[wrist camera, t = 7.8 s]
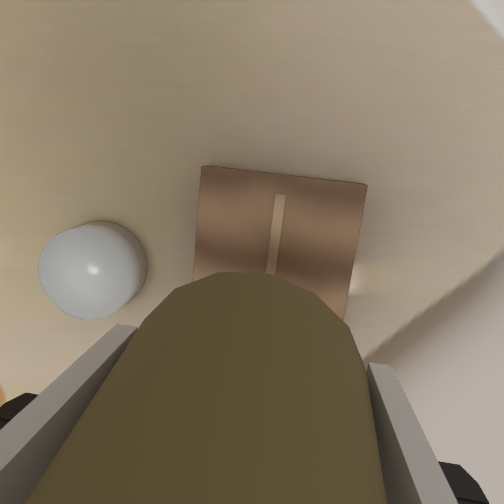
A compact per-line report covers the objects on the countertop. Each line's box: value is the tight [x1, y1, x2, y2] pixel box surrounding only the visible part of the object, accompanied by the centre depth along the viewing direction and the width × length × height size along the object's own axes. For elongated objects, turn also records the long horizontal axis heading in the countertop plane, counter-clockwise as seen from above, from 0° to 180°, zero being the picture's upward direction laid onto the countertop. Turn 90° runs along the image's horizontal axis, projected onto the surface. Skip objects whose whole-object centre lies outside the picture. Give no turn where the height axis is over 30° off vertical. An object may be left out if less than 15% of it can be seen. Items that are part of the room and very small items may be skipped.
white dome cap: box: [38, 221, 147, 320], centre depth 34 cm, size 8×8×4 cm
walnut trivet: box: [193, 166, 368, 321], centre depth 32 cm, size 13×13×3 cm
